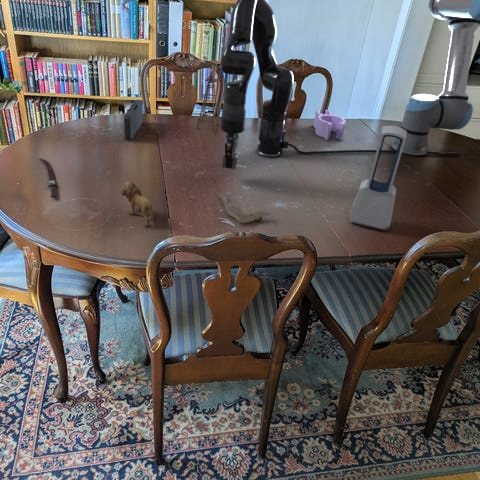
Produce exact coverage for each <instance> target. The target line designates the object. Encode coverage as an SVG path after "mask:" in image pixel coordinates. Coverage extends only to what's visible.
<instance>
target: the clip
mask: <svg viewBox="0 0 480 480" xmlns="http://www.w3.org/2000/svg"><path fill="white" fill-rule="evenodd" d="M346 121H347V120H346V119H345V118H343V117H342V116H339V115H336V114H335V113H334V112H333V111H331V110H327V109H325V110H324V113H321V110H320V109H317V110H315V114H314V120H313V128H315V130H314V133H315V134H316V135H317V136H319V137H321V138H324V139H325V141H328V140H329V139H330V137H331V132H334V133H336V135H335V139H336V140H339V141H343V138H344V134H345V129H346V123H347V122H346Z"/></svg>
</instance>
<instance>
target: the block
mask: <svg viewBox="0 0 480 480" xmlns="http://www.w3.org/2000/svg"><path fill="white" fill-rule="evenodd" d="M228 154H230V153H228ZM238 154H239V153H238V152H235V153H234V154H233V156H234V157H233V162H232V168H228V169H231V170H236V167H237V166H238V156H239V155H238ZM225 165H226V158H225V152H224V153H223V156H222V165H221V167H222V168H223V169H227V168H226V167H225Z"/></svg>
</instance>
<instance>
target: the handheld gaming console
mask: <svg viewBox="0 0 480 480" xmlns="http://www.w3.org/2000/svg"><path fill="white" fill-rule="evenodd" d="M143 107H144V105H143V100H142V99H136V100H135V101H134V102H133V103H132V104H131V106H130V107H129V108H128V109H127V111H126V113H125V114H124V115H123V116H124V117H123V125H124V126H123V127H124V128H123V129H124V139H125V140H128V141H129V140H130V141H132V139H133V138H134V137H135V135H136V133H137V132H138V131H139V129H140V128H141V126H142V124H143V120H144V113H143V112H144V111H143Z"/></svg>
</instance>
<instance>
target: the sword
mask: <svg viewBox="0 0 480 480" xmlns="http://www.w3.org/2000/svg"><path fill="white" fill-rule="evenodd" d="M40 161H41V162H42V163H43V165H44V166H45V169H46V173H47V176H48V185H47V188H50V198H56V197H57V189H56V188H57V187H59V185H58V184H57V183H56V180H55V176H54V172H53V169H52V167H51V164H50V163H49V161H48V160H46V159H43V158H40Z"/></svg>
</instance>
